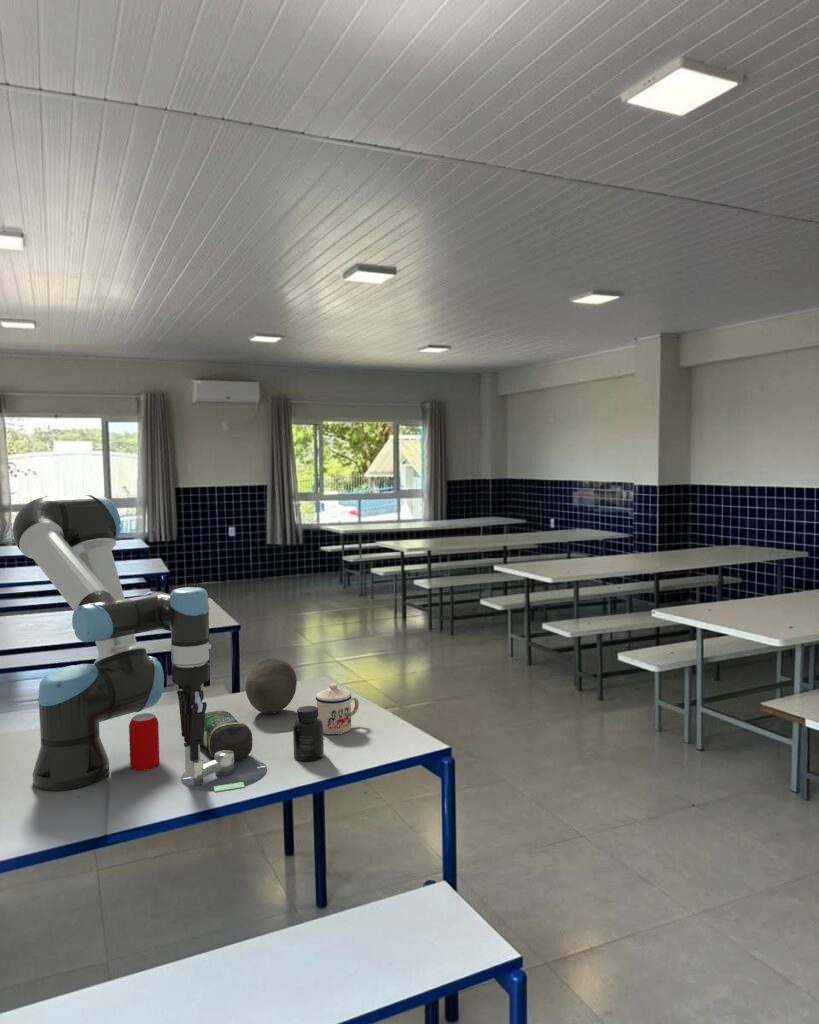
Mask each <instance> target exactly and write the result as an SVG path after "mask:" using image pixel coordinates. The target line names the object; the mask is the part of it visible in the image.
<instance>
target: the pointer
mask: <svg viewBox="0 0 819 1024" xmlns="http://www.w3.org/2000/svg"><path fill="white" fill-rule="evenodd" d="M214 759H215V760H213V759H212V760H213V761H211V762H208V763H206V764H203V762H204V760H203V759H201V758H200V759H198V760H196V761H193V778H194V784H197V785H198V784H202V783H203V782H204V777H205V776H208V775H210V774H212V773H215V774H216V775H219V776H225V775H230V774H232V773H233V772H234V752H233V751H230V750H223V751H219V752H217V753H215V758H214Z"/></svg>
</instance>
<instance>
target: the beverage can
mask: <svg viewBox="0 0 819 1024" xmlns="http://www.w3.org/2000/svg"><path fill="white" fill-rule="evenodd" d="M159 729H160V727H159V720H158V717H156V716H155V714H154V713H150V712H145V713H139V714H136V715H134V716H133V717H132V718H131V720H130V722H129V724H128V737H129V738H128V740H129V763H130V764H129V766H130V769H131V770H133V771H136V772H137V771H140V772H141V771H148V770H152V769H154V768H157V767H158V766H159V765H160V761H161V760H160V737H159V736H160V733H159V731H160V730H159Z"/></svg>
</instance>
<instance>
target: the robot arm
mask: <svg viewBox="0 0 819 1024" xmlns="http://www.w3.org/2000/svg"><path fill="white" fill-rule="evenodd" d="M12 524H13V525H12V537H13V540H14V543H15V545H16V547H17V548H18V550H19V551H20V553H22V554H23V555H24V556H25V557H27V558H29V559H33V561H34V562H35V564H37V566H38V567H39V568H40V569H41V571H42V572H43V573H44V574H45V576H46V577H47V579H48V580H49V581H50V583H52V585H53V586H54V587H55V588H56V590H57V591H58V592H59V594H60V595H61V597H62V598H63V599H64V600H65V602H66V603H67V604H68V605H69V606H70V608H71V609H72V610H73V613H72V618H71V620H72V621H71V624H72V629H73V630H74V634H75V637H76V638H77V639H78V641H80V642H83V643H92V642H93V643H94V642H95V645H96V650H97V653H98V655H97V657H96V658H95V661H94V662H93V664H92V663H80V664H76V665H73V664H71V665H67V666H65V667H61V668H58V669H55V670H53V671H51V672H49V673H47V674H46V675H44V677H43V678H42V679H41V681H40V682H39V685H38V686H39V687H38V696H37V697H38V698H37V703H38V711H39V729H40V730H39V733H40V748H39V751H38V755H37V758H36V761H35V765H34V768H33V771H32V783H33V786H34V787H36V788H37V789H40V790H44V791H65V790H66V791H67V790H73V789H78V788H82V787H85V786H88V785H92V784H94V783H97V782H99V781H100V780H102V779H104V778H106V776H107V775H108V774H109V773H110V761H109V760H110V759H109V757H108V754H107V752H106V749H105V746H104V745H103V742H102V739H101V736H100V723H101V722H104V721H108V720H111V719H114V718H120V717H122V716H126V715H128V714H129V715H130V714H133V713H140V712H141V711H143V710H147V709H150V708H152V707H154V706H155V705H156V704H157V703H158V702H159V700H160V699H161V697H162V694H163V691H164V685H165V677H164V676H165V675H164V670H163V669H164V668H163V666H162V664H161V662H160V661H159V659H157V658H156V657H154V656H150V655H148V653H147V649H146V647H144V646H142V644H141V645H140V644H139V643H137V638H136V635H138V634H141V633H147V632H152V631H158V630H164V631H168V632H170V634H171V635H170V637H171V642H170V643H171V644H170V649H171V650H170V652H171V654H170V655H171V663H172V664H173V665H172V666H171V681H172V683H173V684H174V685H176V686H180V688H179V689H177V690H176V691H177V692H176V693H177V697H178V706H179V719H180V731H181V737H182V738H183V740H184V742H183V747H184V755H185V756H184V757H185V771H186V775H187V776H191V775H193V761H196V760H198V759H201V746H200V745H201V744H203V738H204V723H205V713H206V710H207V707H208V704H207V702H206V701H203V700H204V691H203V689H202V685H203V684H205V683H207V682H209V680H210V679H211V676H210V675H211V670H210V665H211V663H209V660H210V650H211V649H212V645H211V644H210V605H209V594H208V592H207V590H206V589H205V588H202V587H193V586H188V587H179V588H175V589H173V590H172V591H171V593H166V592H162V591H148V592H145V593H143V594H142V595H141V596H136V597H128V598H125V596H124V594H125V593H124V591H123V587H122V583H121V580H120V577H119V572H118V569H117V567H116V562H115V558H114V555H113V552H112V551H113V550H114V548H115V546H116V544H117V541H116V540H117V539H118V538H119V536H120V534H121V531H122V527H121V526H120V525H121V524H122V521H121V516H120V514H119V511H118V509H117V507H116V505H115V504H114V502H113V501H112V500H111V499H108V498H107V497H106V496H102V495H91V494H87V495H86V494H85V495H76V496H45V497H44V496H43V497H38V498H35V499H34V500H31V501H30V502H28V503H27V504H25V505H24V506H22V507H21V508H20V510H19V511H18V512H17V514H16V516H15V518H14V521H13V523H12Z"/></svg>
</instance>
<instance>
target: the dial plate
mask: <svg viewBox="0 0 819 1024" xmlns="http://www.w3.org/2000/svg"><path fill="white" fill-rule="evenodd" d="M213 760H215V758H214V759H209V760H205V761H203V764H206V763H208V762H211V761H213ZM267 773H268V767H267V765H266V764H265V763H264V762H262V761H260V760H259V759H255V758H251V757H250V758H249V757H245V758H242V759H238V760H234V772H233V773H232V774H230V775H225V776H219V775H216V774H215V773H212V774H210V775H208V776H205V777H204V782H203V783H202V784H198V785H197V784H194V778H193V775H191V776H187V775H186V770H185V771H184V772H183V773H182V775H181V778H180V781H181V783H182V784H183V786H185V787H186V788H188V789H191V790H195V791H200V792H215V793H217V792H227V791H233V790H238V789H243V788H245V787H248V786H250V785H252V784H253V785H254V784H255V783H257V782H258V781H260V780H262V779H263V778H264V777H265V776H266V775H267Z"/></svg>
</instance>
